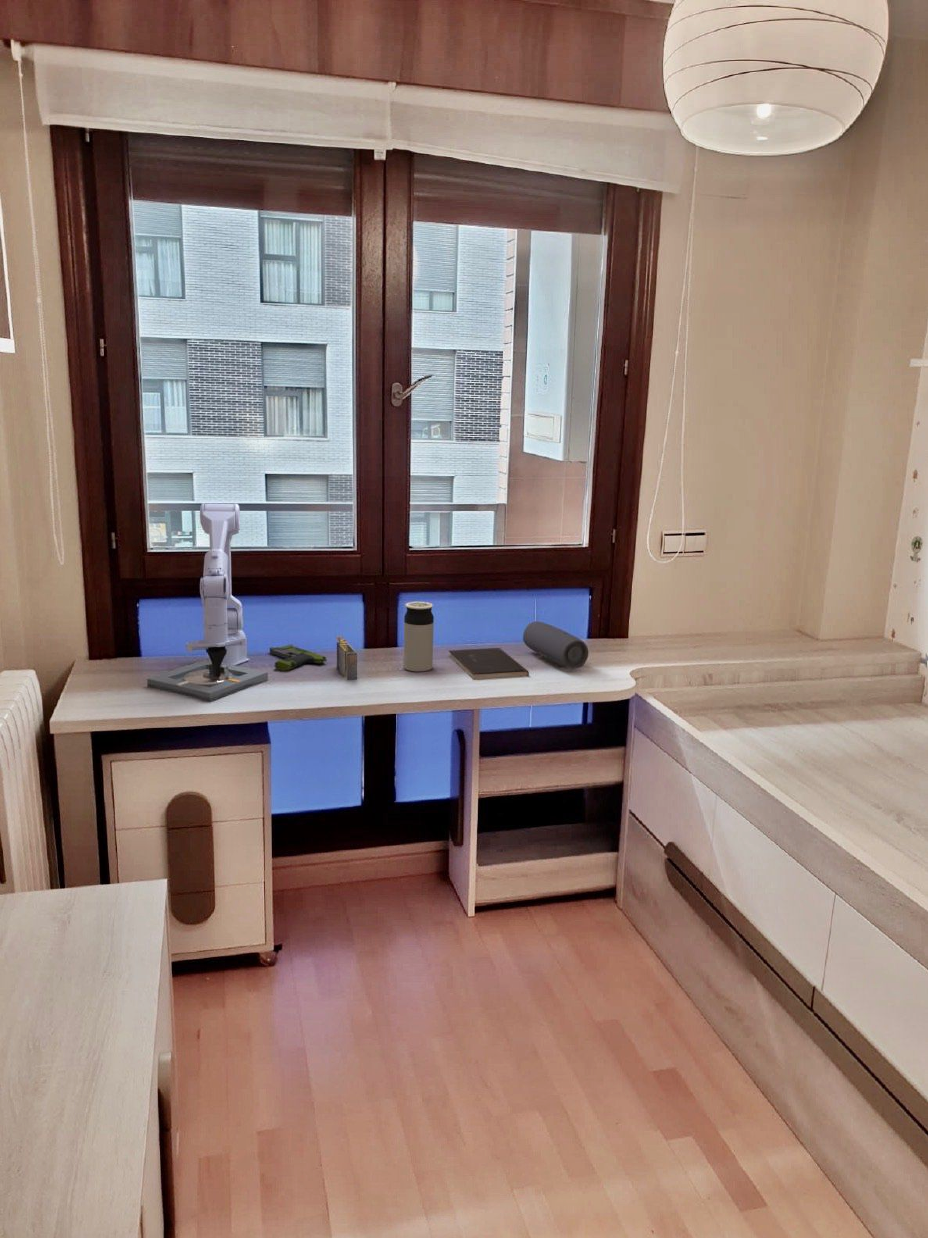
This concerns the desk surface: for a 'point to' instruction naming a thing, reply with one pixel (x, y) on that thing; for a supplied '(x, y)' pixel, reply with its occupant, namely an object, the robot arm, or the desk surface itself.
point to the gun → (294, 657)
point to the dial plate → (177, 685)
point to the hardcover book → (488, 663)
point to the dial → (208, 676)
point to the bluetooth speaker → (555, 645)
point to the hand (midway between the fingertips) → (217, 675)
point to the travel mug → (418, 636)
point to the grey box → (346, 659)
